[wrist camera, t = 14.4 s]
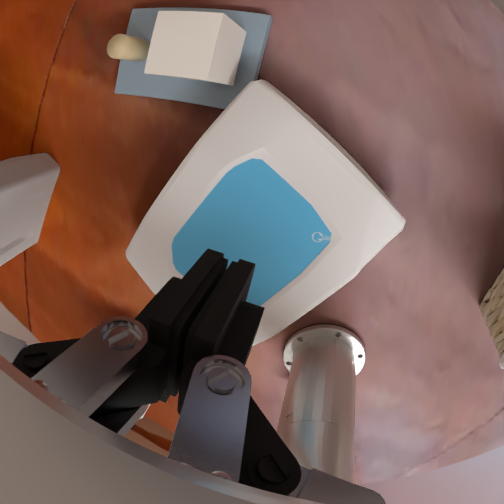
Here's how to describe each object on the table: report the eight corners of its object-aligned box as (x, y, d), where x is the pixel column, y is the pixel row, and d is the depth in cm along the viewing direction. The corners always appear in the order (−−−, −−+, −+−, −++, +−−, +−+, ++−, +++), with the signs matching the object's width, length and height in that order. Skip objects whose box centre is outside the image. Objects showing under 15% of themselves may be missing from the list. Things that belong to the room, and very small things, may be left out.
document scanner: (140, 240, 44) (116, 261, 38) (265, 78, 30) (252, 74, 24) (248, 331, 47) (237, 360, 41) (400, 209, 33) (412, 231, 28)
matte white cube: (233, 85, 30) (207, 80, 23) (180, 77, 30) (143, 73, 24) (246, 32, 27) (223, 13, 20) (192, 26, 27) (158, 10, 21)
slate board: (249, 113, 33) (232, 114, 27) (121, 93, 35) (89, 94, 29) (272, 18, 27) (260, 1, 22) (138, 11, 29) (109, 1, 24)
